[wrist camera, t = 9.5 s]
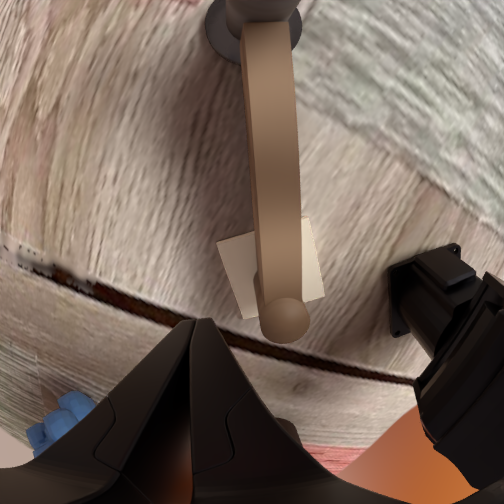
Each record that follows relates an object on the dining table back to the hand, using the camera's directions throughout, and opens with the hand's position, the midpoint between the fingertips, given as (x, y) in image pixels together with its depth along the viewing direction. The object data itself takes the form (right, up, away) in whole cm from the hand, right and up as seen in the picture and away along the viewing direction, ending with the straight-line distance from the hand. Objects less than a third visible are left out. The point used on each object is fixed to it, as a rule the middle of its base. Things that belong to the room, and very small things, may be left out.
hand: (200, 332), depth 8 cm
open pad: (+3, +1, +12) cm, 12 cm away
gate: (+2, +7, +8) cm, 11 cm away
